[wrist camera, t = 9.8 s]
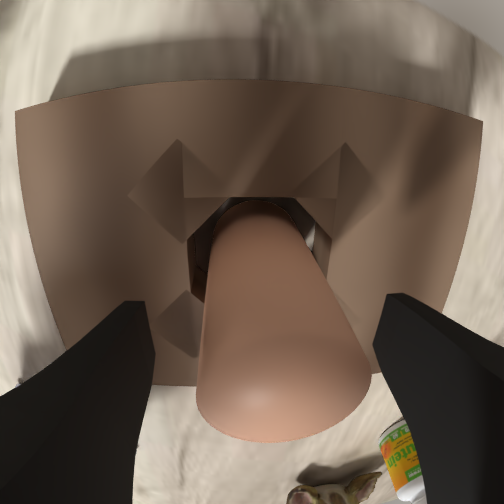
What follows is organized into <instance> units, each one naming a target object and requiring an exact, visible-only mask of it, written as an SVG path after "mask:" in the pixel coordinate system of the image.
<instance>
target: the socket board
mask: <svg viewBox="0 0 504 504" xmlns="http://www.w3.org/2000/svg"><path fill="white" fill-rule="evenodd" d="M15 127H16V144H17V156H18V166H19V175H20V183H21V190H22V196H23V202H24V208H25V214H26V219H27V224H28V229H29V233H30V238H31V242H32V246H33V250H34V254H35V258H36V262H37V266H38V269H39V273H40V276H41V280H42V283H43V286H44V290H45V293H46V296H47V299H48V302H49V305H50V308H51V311H52V314H53V316H54V319H55V322H56V325H57V327H58V330H59V332H60V335H61V338H62V340H63V343H64V345H65V347H66V350H68V349H70V348H71V347H72V346H73V345H74V344H76V343H77V342H78V341H79V340H81V339H82V338H83V337H84V336H85V335H86V334H87V333H88V332H90V331H91V330H92V329H93V328H94V327H95V326H96V325H97V324H99V323H100V322H101V321H102V320H103V319H104V318H105V317H106V316H107V315H109V314H110V313H111V312H112V311H113V310H114V309H115V308H116V307H118V306H119V305H120V304H121V303H123V302H124V301H145V305H146V311H147V316H148V321H149V326H150V330H151V335H152V340H153V344H154V349H155V353H156V356H155V365H154V373H153V380H152V385H169V386H197V377H198V365H199V354H200V343H201V333H202V323H203V313H204V304H205V295H206V286H207V277H208V275H207V274H206V273H205V272H204V271H202V270H201V269H200V268H199V267H198V266H197V265H196V257H195V240H194V232H195V231H196V230H197V229H198V228H199V227H200V226H201V225H202V224H203V223H204V222H205V221H206V220H207V219H208V218H209V217H210V216H211V215H212V214H213V213H214V212H215V211H216V210H217V209H218V208H219V207H220V206H221V205H222V204H223V203H224V202H225V201H226V200H227V199H228V198H229V197H294V198H295V199H296V200H297V201H298V202H299V203H300V204H301V205H302V206H303V207H304V209H305V210H306V211H307V212H308V213H309V214H310V215H311V216H312V217H313V218H314V219H315V221H316V224H315V234H314V244H313V253H312V255H313V257H314V258H315V260H316V262H317V264H318V266H319V267H320V269H321V271H322V273H323V275H324V276H325V278H326V280H327V282H328V284H329V286H330V288H331V289H332V291H333V293H334V295H335V297H336V299H337V301H338V303H339V304H340V306H341V308H342V310H343V312H344V314H345V316H346V318H347V320H348V322H349V324H350V325H351V327H352V329H353V331H354V333H355V335H356V337H357V339H358V341H359V343H360V345H361V347H362V349H363V351H364V353H365V355H366V357H367V359H368V361H369V364H370V367H371V374H375V373H380V372H381V369H380V367H379V364H378V361H377V358H376V355H375V352H374V349H373V346H372V343H373V340H374V337H375V334H376V330H377V327H378V324H379V320H380V317H381V313H382V309H383V306H384V302H385V298H386V295H387V294H391V293H405V294H407V295H409V296H411V297H413V298H415V299H417V300H419V301H421V302H423V303H424V304H426V305H428V306H430V307H431V308H433V309H435V310H436V311H438V312H440V313H442V311H443V308H444V305H445V302H446V300H447V297H448V294H449V291H450V288H451V285H452V282H453V278H454V275H455V272H456V269H457V265H458V262H459V258H460V255H461V251H462V247H463V244H464V240H465V236H466V231H467V227H468V223H469V218H470V214H471V209H472V204H473V198H474V193H475V187H476V181H477V174H478V167H479V160H480V151H481V141H482V129H483V121H481V120H478V119H475V118H472V117H469V116H466V115H463V114H460V113H456V112H453V111H450V110H447V109H443V108H440V107H436V106H432V105H429V104H425V103H421V102H417V101H413V100H409V99H404V98H400V97H395V96H391V95H386V94H381V93H375V92H370V91H364V90H358V89H352V88H345V87H338V86H330V85H322V84H313V83H302V82H290V81H274V80H246V79H218V80H190V81H174V82H162V83H151V84H142V85H134V86H126V87H119V88H113V89H107V90H101V91H95V92H90V93H85V94H80V95H75V96H70V97H66V98H61V99H57V100H53V101H49V102H45V103H41V104H38V105H34V106H31V107H27V108H24V109H20V110H17V111H15Z"/></svg>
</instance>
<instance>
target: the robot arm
mask: <svg viewBox="0 0 504 504" xmlns="http://www.w3.org/2000/svg"><path fill="white" fill-rule="evenodd" d="M372 346H373V349H374V352H375V355H376V358H377V361H378V364H379V367H380V369H381V372H382V374H383V376H384V378H385V380H386V382H387V384H388V386H389V388H390V390H391V392H392V394H393V396H394V398H395V401H396V403H397V405H398V407H399V409H400V411H401V413H402V415H403V417H404V419H405V421H406V423H407V426H408V428H409V431H410V433H411V436H412V439H413V443H414V446H415V449H416V452H417V456H418V460H419V464H420V468H421V472H422V476H423V481H424V487H425V493H426V500H427V504H504V347H502V346H499V345H497V344H495V343H493V342H491V341H489V340H487V339H485V338H483V337H482V336H480V335H478V334H476V333H474V332H472V331H470V330H469V329H467V328H465V327H463V326H462V325H460V324H458V323H457V322H455V321H453V320H452V319H450V318H448V317H446V316H445V315H443V314H441V313H440V312H438V311H436V310H435V309H433V308H431V307H430V306H428V305H426V304H424V303H423V302H421V301H419V300H417V299H415V298H413V297H411V296H409V295H407V294H405V293H391V294H387V295H386V298H385V302H384V306H383V309H382V313H381V317H380V320H379V324H378V327H377V330H376V334H375V337H374V340H373V343H372ZM155 356H156V353H155V349H154V344H153V340H152V335H151V330H150V326H149V321H148V316H147V311H146V305H145V301H124V302H123V303H121V304H120V305H119V306H118V307H116V308H115V309H114V310H113V311H112V312H111V313H110V314H109V315H107V316H106V317H105V318H104V319H103V320H102V321H101V322H100V323H99V324H97V325H96V326H95V327H94V328H93V329H92V330H91V331H90V332H88V333H87V334H86V335H85V336H84V337H83V338H82V339H81V340H79V341H78V342H77V343H76V344H74V345H73V346H72V347H71V348H70V349H68V350H67V351H66V352H65V353H64V354H62V355H61V356H60V357H59V358H57V359H56V360H55V361H54V362H52V363H51V364H50V365H49V366H47V367H46V368H44V369H43V370H42V371H40V372H39V373H37V374H36V375H34V376H33V377H32V378H30V379H29V380H27V381H26V382H24V383H23V384H17V385H16V387H15V388H14V389H12V390H11V391H9V392H7V393H5V394H4V395H2V396H0V504H132V496H133V476H134V464H135V455H136V452H137V450H136V449H137V443H138V439H139V435H140V430H141V426H142V422H143V418H144V414H145V410H146V406H147V402H148V398H149V394H150V390H151V386H152V380H153V373H154V365H155Z"/></svg>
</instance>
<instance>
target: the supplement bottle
mask: <svg viewBox="0 0 504 504" xmlns="http://www.w3.org/2000/svg"><path fill="white" fill-rule="evenodd" d="M378 443H379V447H380V450H381V452H382V455H383V458H384V460H385V463H386V466H387V469H388V471H389V474H390V477H391V480H392V482H393V485H394V488H395V491H396V494H397V496H398V498H399V499H400V500H402V501H410V502H411V504H427V500H426V493H425V487H424V481H423V476H422V472H421V468H420V464H419V460H418V456H417V452H416V449H415V446H414V443H413V439H412V436H411V433H410V431H409V428H408V426H407V423H406V421H405V419H404V420H402V421H400V422H398V423H396V424H394V425H393V426H391V427H390V428H389V429H388V430H386V431H385V432H384V433H383V434H382V436H381V437H380V439H379V442H378Z"/></svg>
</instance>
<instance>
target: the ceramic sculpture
mask: <svg viewBox="0 0 504 504" xmlns="http://www.w3.org/2000/svg"><path fill="white" fill-rule="evenodd" d="M381 475H382V472H374V473H369V474H364V475H361V476H358V477H356V478H355V479H353V480H352V481H351V482H350V484H349V485H348V486H347V487H345V486H342V485H340V484H326V485H320V486H317V487H311V486H308V485H300V486H297V487H295V488H294V489H292V490H291V491H290V493H289V494H288V497H287V503H286V504H359V503H360V502H362V501H364V500H366V499H368V498H369V495H370V494H371V493H372V492H373V490H374V488H375V484H376V482H377V478H379V477H380V476H381Z"/></svg>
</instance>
